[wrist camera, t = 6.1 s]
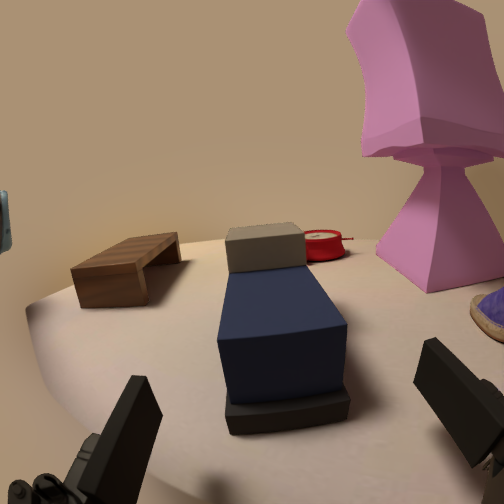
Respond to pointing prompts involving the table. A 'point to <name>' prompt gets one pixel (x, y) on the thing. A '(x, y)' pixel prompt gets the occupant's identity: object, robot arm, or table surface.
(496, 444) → the robot arm
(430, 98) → the pink table lamp
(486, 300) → the sandal
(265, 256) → the stacked block toy
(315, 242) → the alarm clock
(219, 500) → the table surface
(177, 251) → the low wooden table
